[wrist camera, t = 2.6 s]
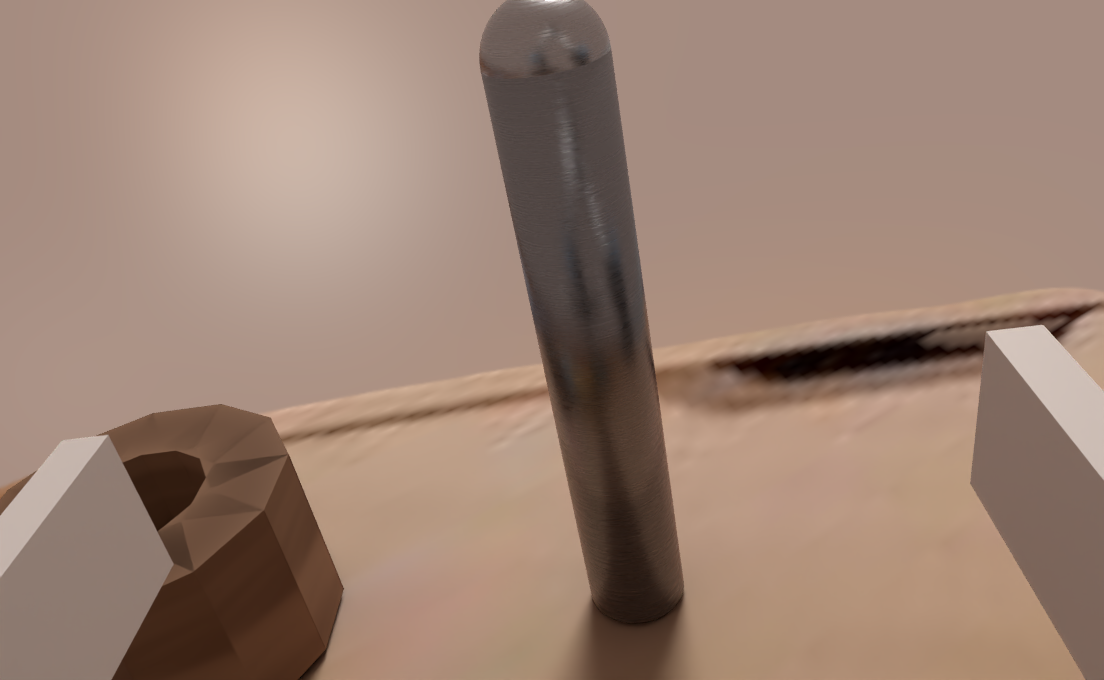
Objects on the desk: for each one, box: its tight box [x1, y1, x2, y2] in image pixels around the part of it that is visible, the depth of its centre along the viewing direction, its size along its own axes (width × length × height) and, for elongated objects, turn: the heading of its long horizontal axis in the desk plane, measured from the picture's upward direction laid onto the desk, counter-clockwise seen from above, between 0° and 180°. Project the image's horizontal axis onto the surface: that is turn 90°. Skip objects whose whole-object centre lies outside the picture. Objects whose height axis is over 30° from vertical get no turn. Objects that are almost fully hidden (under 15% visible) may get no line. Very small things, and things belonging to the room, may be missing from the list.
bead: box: [0, 404, 344, 680], centre depth 29 cm, size 10×10×6 cm
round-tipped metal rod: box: [479, 0, 684, 623], centre depth 24 cm, size 3×3×18 cm
